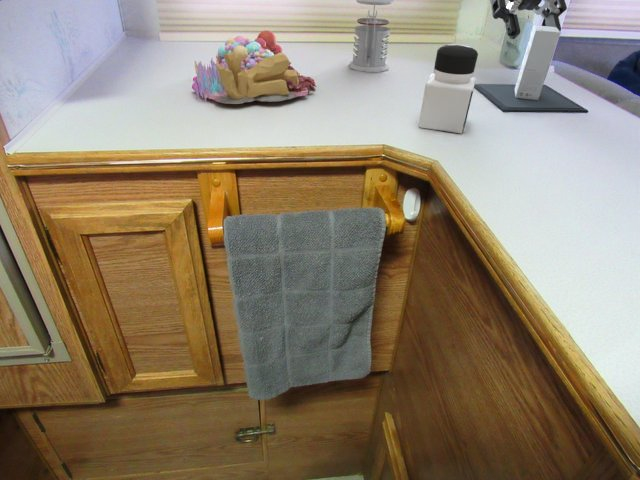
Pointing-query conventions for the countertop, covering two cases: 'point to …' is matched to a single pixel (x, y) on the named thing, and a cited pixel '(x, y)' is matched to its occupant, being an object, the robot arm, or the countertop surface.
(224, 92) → the candy landscape model
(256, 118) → the countertop surface
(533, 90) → the cosmetic box
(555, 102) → the slate mat
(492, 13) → the robot arm
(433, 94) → the medicine bottle
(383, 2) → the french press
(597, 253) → the countertop surface
